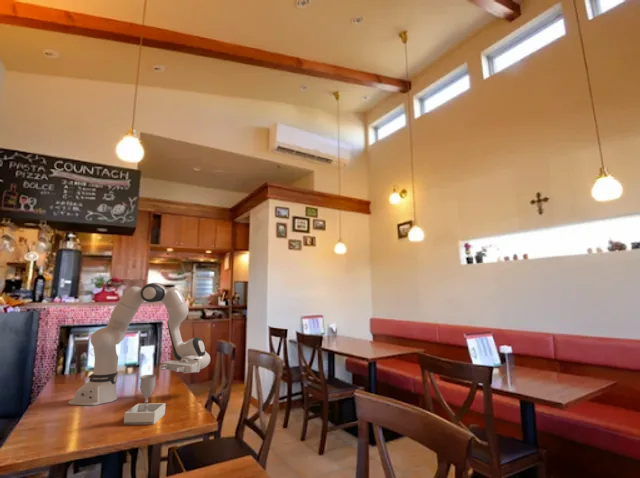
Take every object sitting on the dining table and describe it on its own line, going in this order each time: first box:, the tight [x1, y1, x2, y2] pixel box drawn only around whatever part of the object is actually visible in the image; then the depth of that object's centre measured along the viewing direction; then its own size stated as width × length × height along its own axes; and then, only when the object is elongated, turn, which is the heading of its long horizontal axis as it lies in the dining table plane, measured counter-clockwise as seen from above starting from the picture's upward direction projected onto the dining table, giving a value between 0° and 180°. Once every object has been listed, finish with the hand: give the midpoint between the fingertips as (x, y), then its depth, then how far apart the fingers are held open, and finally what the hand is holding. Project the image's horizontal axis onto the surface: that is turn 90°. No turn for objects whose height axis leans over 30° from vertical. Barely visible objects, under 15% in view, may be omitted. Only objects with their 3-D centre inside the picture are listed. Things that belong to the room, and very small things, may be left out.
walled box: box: [123, 402, 167, 426], centre depth 160 cm, size 13×13×5 cm
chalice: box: [139, 374, 157, 412], centre depth 162 cm, size 7×7×18 cm
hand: (168, 369), depth 179 cm, fingers open, 8 cm apart
